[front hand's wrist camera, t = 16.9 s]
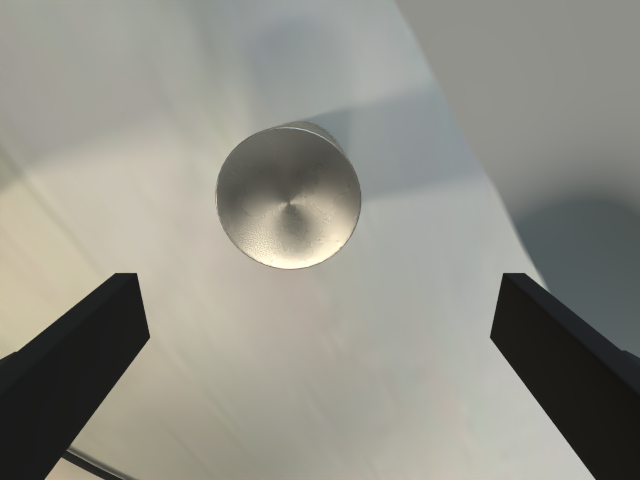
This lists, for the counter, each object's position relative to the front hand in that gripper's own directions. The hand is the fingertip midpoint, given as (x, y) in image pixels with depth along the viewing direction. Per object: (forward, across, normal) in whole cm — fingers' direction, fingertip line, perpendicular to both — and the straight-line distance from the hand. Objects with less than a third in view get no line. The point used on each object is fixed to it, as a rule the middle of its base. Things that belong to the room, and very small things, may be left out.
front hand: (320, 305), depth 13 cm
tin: (+20, +2, -2) cm, 20 cm away
